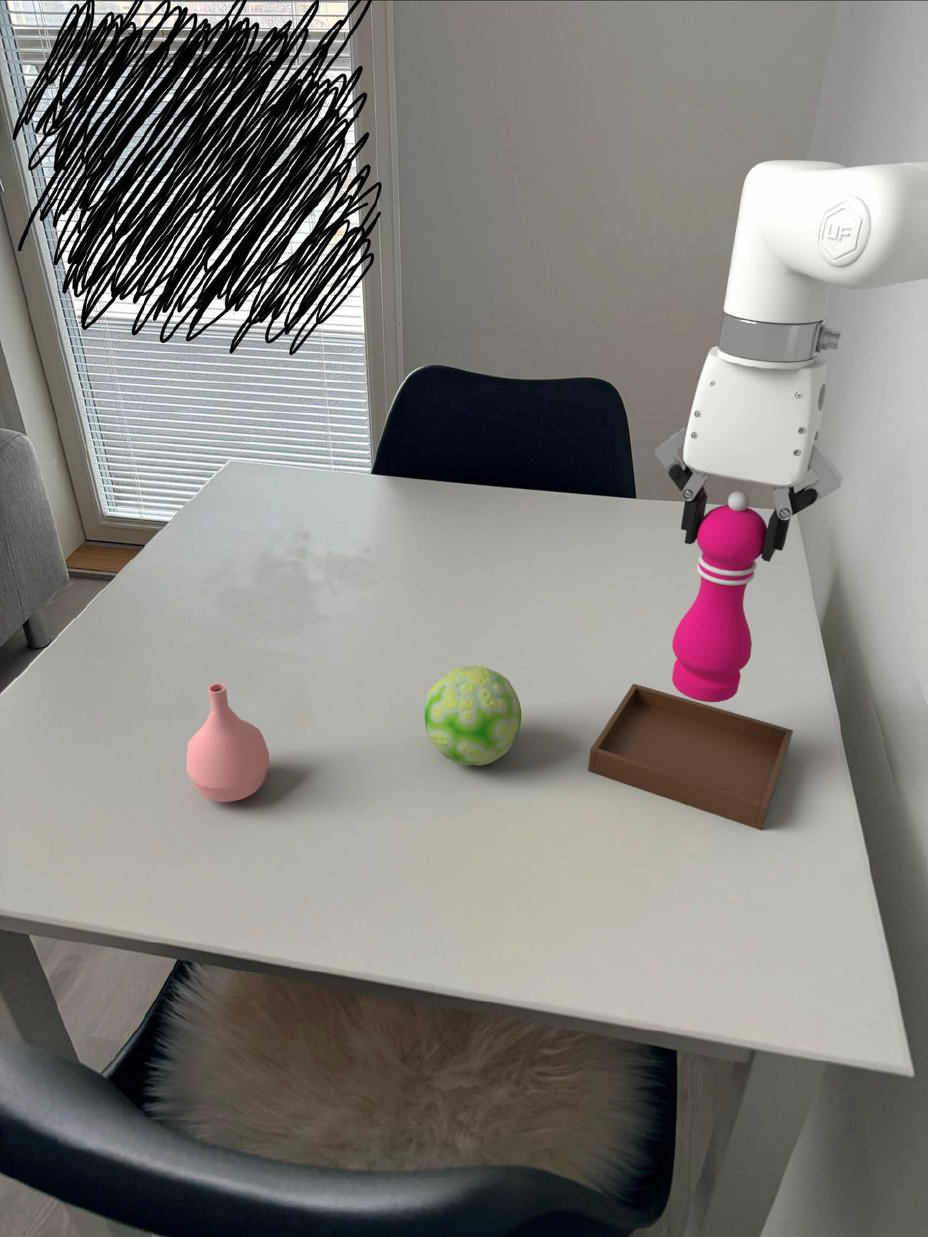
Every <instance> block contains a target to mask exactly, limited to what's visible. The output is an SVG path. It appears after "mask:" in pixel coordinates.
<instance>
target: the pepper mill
mask: <svg viewBox="0 0 928 1237" xmlns="http://www.w3.org/2000/svg"><path fill="white" fill-rule="evenodd" d="M727 498H728V499H727V504H724V505H720V506H717V507H714V508H712V509H711V510H709V511H708V512H707V513H706V514H704V517H703V519H702V520H701V522H700V524H699V527H698V531H697V539H696V543H697V545H698V547H699V549H700V551H701V553H700V554H699V556H698V564H697V566H696V570H697V573H698V574H699V575H700V585H699V589H698V593H697V596H696V598H695V600H694V602H693V603H692V605H691V606H690V608H689V609H688V610H687V612H686V613H685V614H684V615H683V617H682V618H681V619H680V622H679V623H678V624H677V627H676V628H675V632H674V635H673V639H672V642H671V646H672V651H673V653H674V656H675V657H676V660H675V661H674V665H673V670H672V674H671V675H672V676H671V681H672V685H673V686H674V687H675V689H676V690H677V691H678V692H680V693H681V694H683V695H684V697H685V696H686V697H687V698H690V699H691V700H692V699H693V700H695V701H700V702H703V703H721V702H725V701H728V700H730V699H732V698H734V697H735V696H736V695H737V692H738V690H739V685H740V681H741V670H742V669H744V668H745V667H746V665H747V664H748V663H749V661H750V659H751V654H752V646H753V645H752V644H753V643H752V634H751V630H750V627H749V623H748V621H747V618H746V614H745V610H744V609H745V608H744V600H745V591H746V588H747V585H748V584H749V583H750V582H752V581H753V580H754V579H755V570H756V569H757V562H756V560H757V559H758V558H760V557H761V556H762V552H763V547H764V542H765V537H766V533H767V528H768V525H767V523H766V522H765V519H764V518H763V517H762V516H761V515H760V514H759V513H758V512H757V511H755V510H754V509H752V508H749V504H750V498H749V495H748V494H747V493H746V492H745V491H741V490H736V491H733V492H731V494H730V495H729V496H728V497H727Z"/></svg>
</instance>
